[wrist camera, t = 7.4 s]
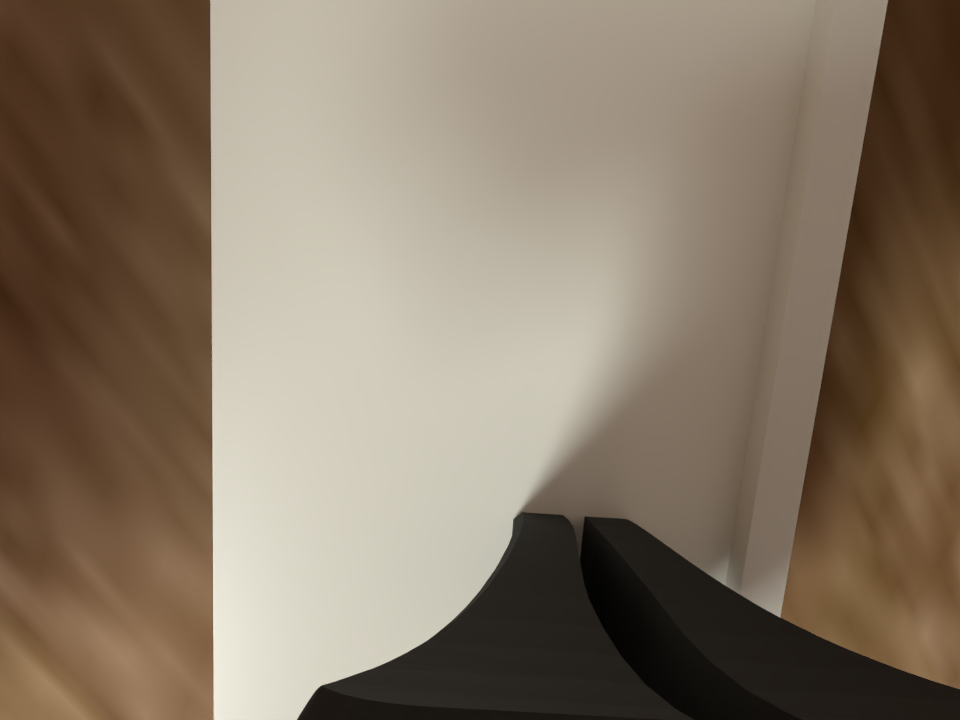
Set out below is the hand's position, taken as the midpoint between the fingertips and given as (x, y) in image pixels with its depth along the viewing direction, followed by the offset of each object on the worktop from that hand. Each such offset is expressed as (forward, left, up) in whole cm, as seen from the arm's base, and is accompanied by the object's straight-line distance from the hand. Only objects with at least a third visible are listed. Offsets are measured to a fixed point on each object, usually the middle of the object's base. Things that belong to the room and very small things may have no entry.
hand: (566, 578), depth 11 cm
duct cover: (+6, +1, -1) cm, 6 cm away
